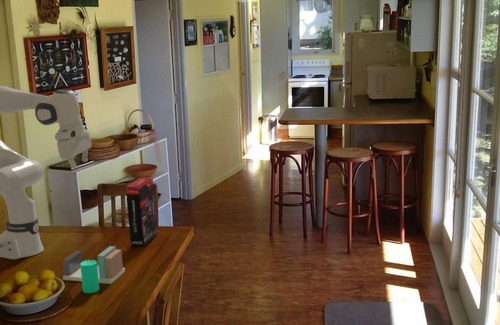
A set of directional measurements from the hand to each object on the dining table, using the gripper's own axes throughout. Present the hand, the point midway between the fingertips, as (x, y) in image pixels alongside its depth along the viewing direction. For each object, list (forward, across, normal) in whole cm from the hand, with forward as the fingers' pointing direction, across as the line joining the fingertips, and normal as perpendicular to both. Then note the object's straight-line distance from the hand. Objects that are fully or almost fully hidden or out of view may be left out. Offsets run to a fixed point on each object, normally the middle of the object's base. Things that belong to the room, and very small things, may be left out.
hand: (79, 164), depth 238 cm
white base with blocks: (+41, +15, +5) cm, 44 cm away
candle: (+41, +28, +9) cm, 50 cm away
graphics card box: (+43, -24, +9) cm, 50 cm away
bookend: (+38, +15, -4) cm, 41 cm away
